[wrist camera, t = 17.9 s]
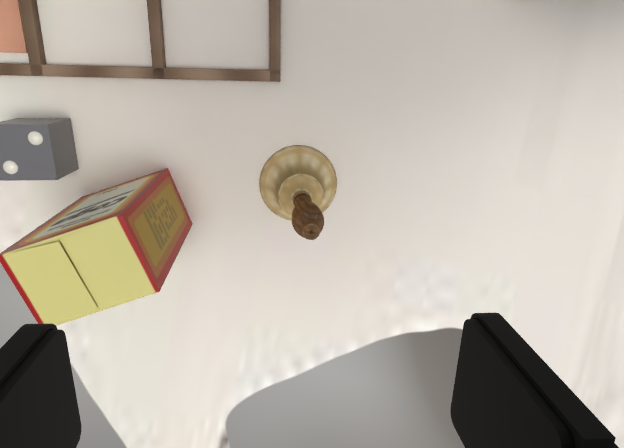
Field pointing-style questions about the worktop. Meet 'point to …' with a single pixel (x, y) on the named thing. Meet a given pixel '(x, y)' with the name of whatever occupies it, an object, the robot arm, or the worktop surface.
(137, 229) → the baking soda box
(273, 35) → the board
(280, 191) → the hand bell
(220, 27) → the worktop surface
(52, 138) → the die
